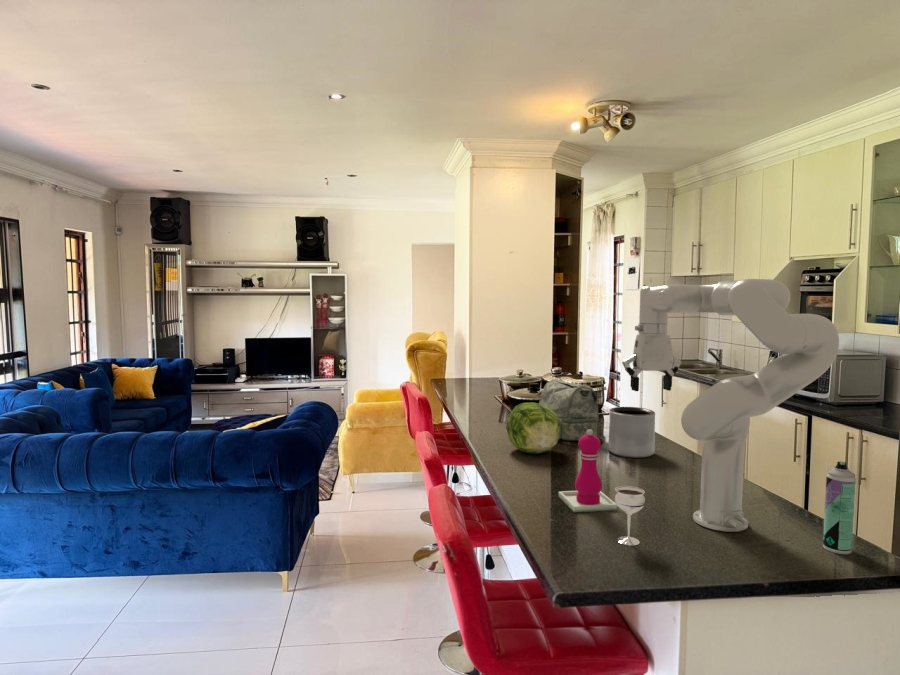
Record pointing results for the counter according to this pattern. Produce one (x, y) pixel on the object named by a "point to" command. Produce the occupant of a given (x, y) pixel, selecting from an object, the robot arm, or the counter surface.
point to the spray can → (839, 509)
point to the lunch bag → (572, 407)
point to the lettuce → (533, 428)
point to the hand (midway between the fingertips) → (651, 390)
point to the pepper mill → (588, 470)
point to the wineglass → (629, 507)
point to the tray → (575, 506)
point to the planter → (631, 432)
